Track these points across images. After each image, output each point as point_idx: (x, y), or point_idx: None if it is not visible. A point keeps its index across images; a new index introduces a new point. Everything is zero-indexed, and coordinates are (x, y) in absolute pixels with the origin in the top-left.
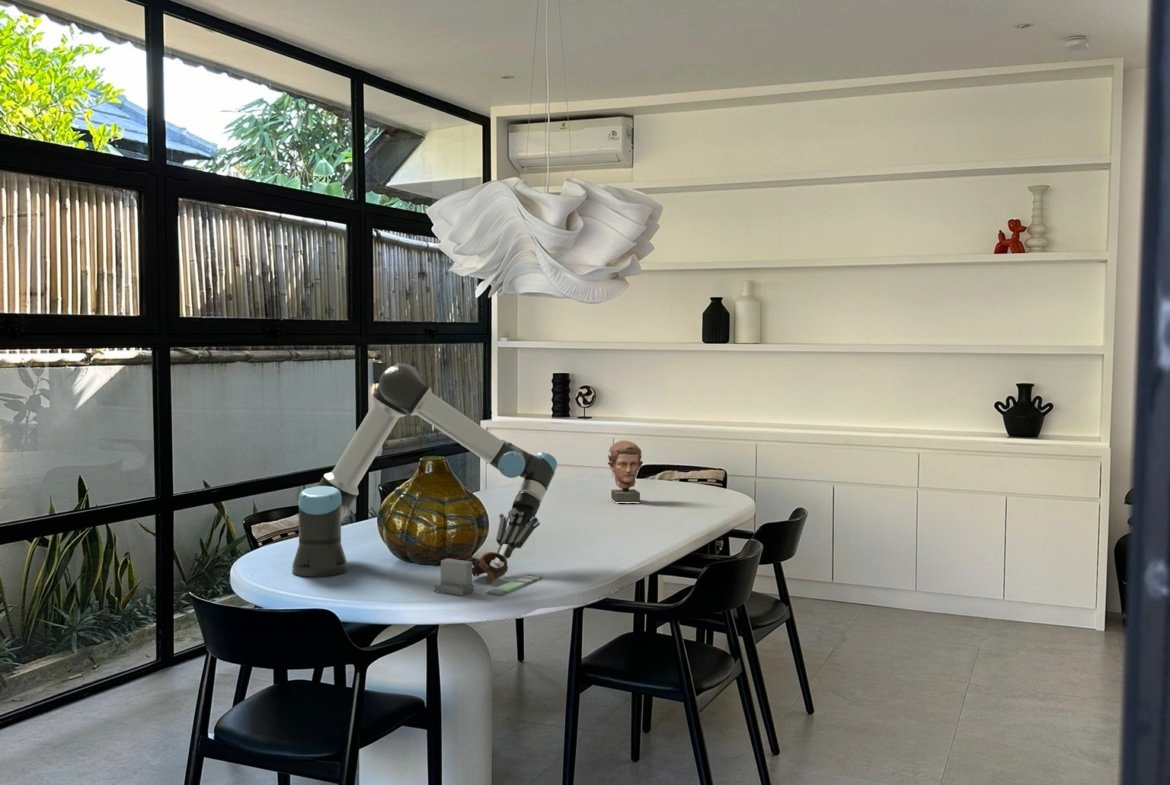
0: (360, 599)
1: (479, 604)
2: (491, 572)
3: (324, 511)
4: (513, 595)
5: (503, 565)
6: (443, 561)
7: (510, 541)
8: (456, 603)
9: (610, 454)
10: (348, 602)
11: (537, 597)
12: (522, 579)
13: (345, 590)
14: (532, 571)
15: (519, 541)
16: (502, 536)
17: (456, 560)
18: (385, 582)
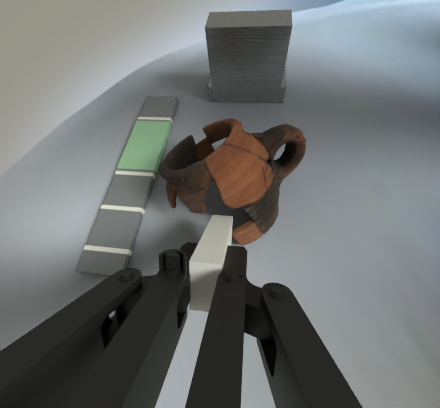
0: (355, 15)
1: (165, 58)
2: (199, 143)
3: None
4: (123, 113)
5: (167, 158)
6: (281, 12)
7: (172, 277)
8: (203, 50)
9: None
10: (356, 4)
11: (72, 119)
12: (127, 209)
13: (430, 30)
14: None
15: (105, 284)
16: (277, 366)
17: (252, 21)
18: (430, 84)
